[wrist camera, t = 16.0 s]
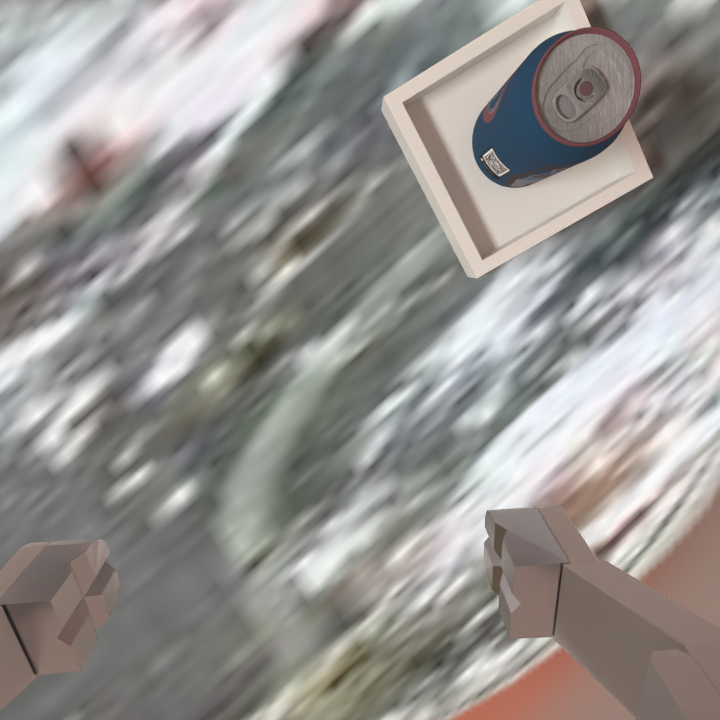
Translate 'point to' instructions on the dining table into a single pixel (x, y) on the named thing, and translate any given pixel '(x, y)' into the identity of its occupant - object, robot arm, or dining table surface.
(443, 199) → the tray
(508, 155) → the soda can
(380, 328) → the dining table surface
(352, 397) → the dining table surface
